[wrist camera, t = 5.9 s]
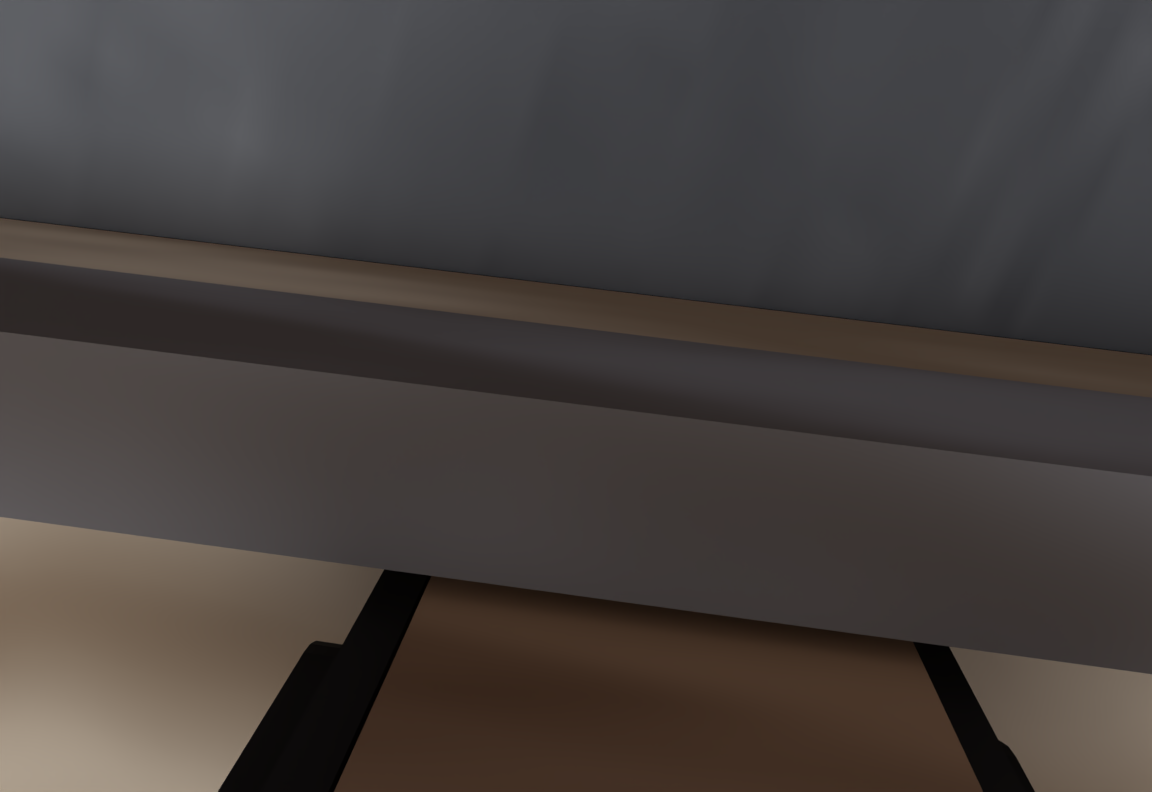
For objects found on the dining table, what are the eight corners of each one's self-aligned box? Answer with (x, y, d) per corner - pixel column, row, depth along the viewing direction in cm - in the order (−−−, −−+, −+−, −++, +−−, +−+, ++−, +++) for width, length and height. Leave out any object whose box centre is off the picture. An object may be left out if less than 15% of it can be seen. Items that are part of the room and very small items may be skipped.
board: (1123, 1028, 16) (1292, 1364, 11) (-269, 810, 17) (-566, 1044, 13) (1456, 392, 11) (1941, 575, 7) (-506, 157, 12) (-1093, 194, 8)
